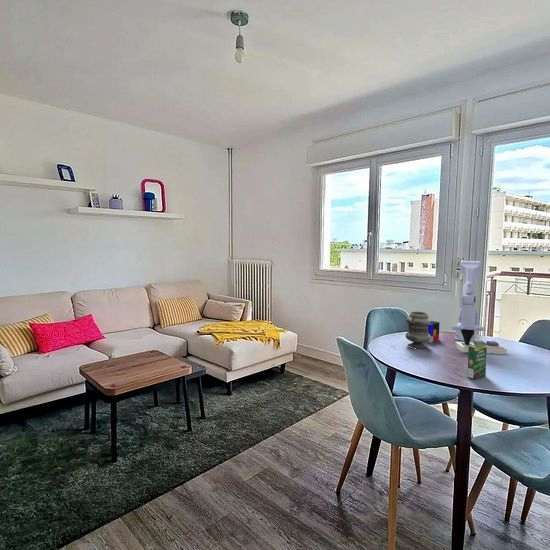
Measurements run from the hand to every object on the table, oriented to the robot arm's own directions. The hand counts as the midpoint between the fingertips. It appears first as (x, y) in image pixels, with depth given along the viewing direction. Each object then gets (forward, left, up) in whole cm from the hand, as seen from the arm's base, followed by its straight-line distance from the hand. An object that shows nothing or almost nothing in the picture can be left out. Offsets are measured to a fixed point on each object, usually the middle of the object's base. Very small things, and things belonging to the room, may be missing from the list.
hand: (466, 344), depth 180 cm
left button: (0, 0, -2) cm, 2 cm away
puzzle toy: (-22, -5, -3) cm, 23 cm away
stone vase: (-12, -20, -3) cm, 24 cm away
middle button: (+3, +5, -1) cm, 6 cm away
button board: (+4, +5, -2) cm, 7 cm away
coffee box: (+30, -29, -3) cm, 42 cm away
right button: (+6, +10, -1) cm, 12 cm away
